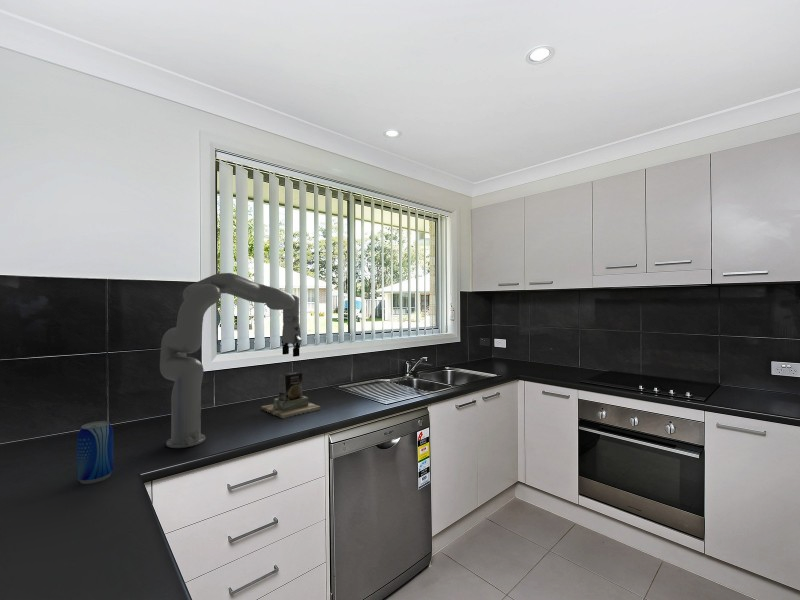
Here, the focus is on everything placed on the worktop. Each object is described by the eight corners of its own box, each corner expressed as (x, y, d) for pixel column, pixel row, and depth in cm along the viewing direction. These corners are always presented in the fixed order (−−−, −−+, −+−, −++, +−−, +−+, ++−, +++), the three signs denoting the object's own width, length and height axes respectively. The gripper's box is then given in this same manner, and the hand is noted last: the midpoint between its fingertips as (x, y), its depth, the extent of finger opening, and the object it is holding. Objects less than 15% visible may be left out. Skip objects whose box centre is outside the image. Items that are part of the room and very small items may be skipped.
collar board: (320, 409, 183) (320, 398, 183) (282, 418, 168) (282, 406, 168) (298, 401, 197) (298, 391, 197) (261, 409, 182) (261, 398, 182)
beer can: (71, 481, 110) (71, 426, 110) (104, 469, 117) (104, 418, 117) (85, 487, 106) (85, 431, 106) (118, 475, 113) (119, 422, 113)
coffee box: (286, 409, 177) (286, 375, 177) (278, 407, 181) (278, 373, 181) (302, 405, 184) (302, 372, 184) (294, 403, 188) (294, 371, 188)
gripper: (307, 320, 179) (307, 356, 179) (288, 319, 191) (288, 352, 191) (293, 320, 174) (293, 358, 174) (275, 319, 186) (274, 354, 186)
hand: (290, 355), depth 182 cm, fingers open, 9 cm apart
